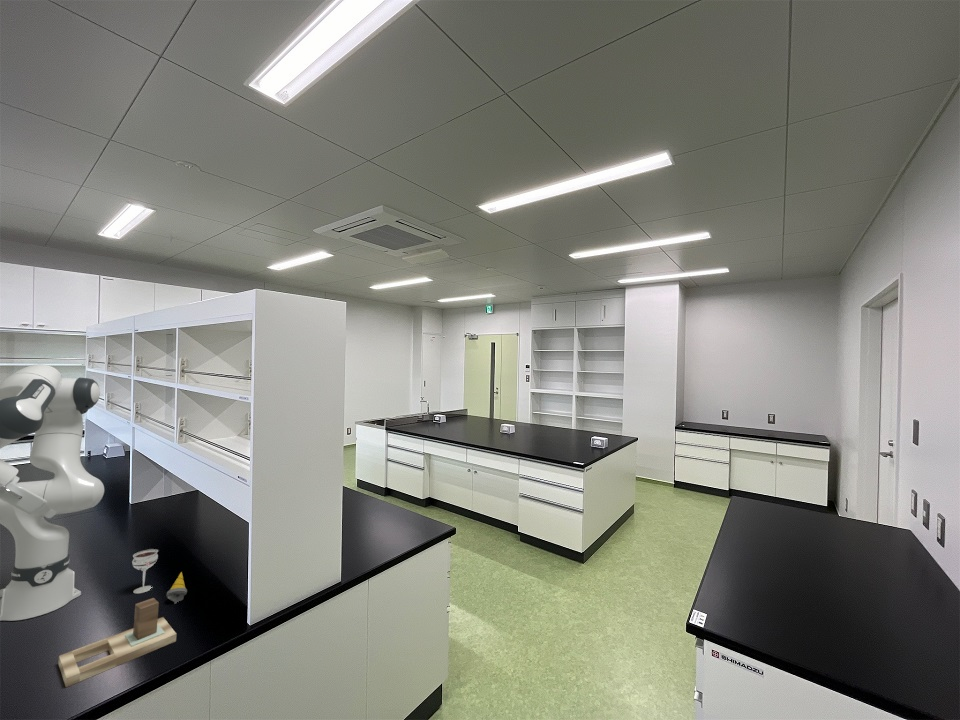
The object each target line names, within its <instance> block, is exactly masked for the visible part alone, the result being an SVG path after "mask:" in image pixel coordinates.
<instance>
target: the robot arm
mask: <svg viewBox="0 0 960 720" xmlns="http://www.w3.org/2000/svg"><path fill="white" fill-rule="evenodd" d="M100 396H101V391H100V386H99V384H98V382H97V381H95V380H94V379H92V378H88V377H75V378H74V377H63V376H62V374H61V372H60V371H59V370H58V369H57V368H55V367H54V366H51V365H48V364H41V363H40V364H39V363H38V364H33V365H29V366H26V367H23V368H21V369H19V370H17V371H15V372H13V373H12V374H9V376H7V377H6V378H5V379H3V380H2V381H1V382H0V449H3V448H4V447H6V446H8V445H10V444H12V443H14V442H16V441H18V440H19V439H21V438H24V437H26V436H30V435H31V434H33V433H34V437H33V440H32V441H33V442H32V446H31V451H30V455H29V462H30V464H31V465H32V466H34V467H35V468H37V469H40V470H43V471H46V472H47V471H48V472H50V473H53V474H54V477H53V478H51V479H46V480H45V479H44V480H43V479H42V480H33V481H21V482H19V481H20V477H19V476H17V475H18V474H19V469H18V468H16V467H15V466H13V465H12V464H9V463H8V462H6V460H5V461H4V460H3V459H1V458H0V525H1V526H4V527H5V528H6V529H7V530H8V531H9V532H10V534H11V535H12V537H13V539H14V544H15V560H14V564H13V566H12V570H11V572H10V573H11V574H10V575H11V577H10V579H11V580H10V581H9V583H8V584H7V585H6V586H5V588H1V589H0V622H1V621H7V622H10V621H22V620H27V619H32V618H36V617H39V616H42V615H45V614H49V613H51V612H53V611H56V610H58V609H60V608H62V607H64V606H66V605H67V604H68V603H70V602H71V601H72V600H74V599H76V598H78V597H80V596H81V595H82V591H81V590H78V589H77V588H76V587H75V571H73V569H71V568H69V566H70V559H71V558H70V554H68V553H69V545H70V544H69V540H70V532H69V530H68V529H67V528H66V527H64V526H62V525H60V524H59V525H58V524H53V523H50V522H49V521H47V520H46V519H52V518H53V517H54V516H56V515H64V514H69V513H76V512H81V511H84V510H88V509H90V508H91V509H92V508H93V507H94V508H95V506H97V505H98V504H99V503H100V502H101V500H102V499H103V496H104V494H105V486H104V483H103V482H102V480H101V479H99V478H97V477H95V476H93V475H92V474H90V473H89V472H88V471H87V470H86V469H85V467H84V466H83V464H82V462H81V449H82V440H83V434H84V433H83V432H84V423H83V422H84V419H83V414H86V413H87V412H88V410H90V409H92V408H93V407H94V406H95V405H96V404H97V403H98V402H99V398H100ZM44 517H45V518H46V519H45V518H44Z"/></svg>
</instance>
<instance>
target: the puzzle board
mask: <svg viewBox="0 0 960 720" xmlns="http://www.w3.org/2000/svg"><path fill="white" fill-rule="evenodd" d="M133 629H134V627H133V628H130V629H127V630H124V631H122V632H120V633H117V634H113V635H112V636H109V637H105V638H103V639H100V640H98V641H97V640H96V641H95V642H92V643H89V644H86V645H84V646H81V647H79V648H76V649H74V650H71V651H68V652H65V653H63V654H60V655H58V663H57V664H58V667H59V670H60V672H61V673H60V674H61V676H62V680H63V683H64V686H65V688H68V687H70V686H73V685H75V684H77V683H80V682H83V681H85V680H87V679H89V678H91V677H94V676H97V675H99V674H102V673H104V672H106V671H109V670H111V669H113V668H116V667H118V666H120V665H123V664H125V663H128V662H130V661H133V660H134V659H137V658H139V657H142V656H144V655H147V654H149V653H151V652H154V651H157V650H158V649H160V648H163V647H166V646H168V645H171V644H173V643H175V642H177V632H176V631H175V630H174V629H173V628H172V626H171V625H170V624H169V623H168V621H167V620H166V619H165V617H164V616H162V617H158V621H157V633H154V634H152V635H150V636H147V637H145V638H142V639H140V640H137V639H136V637H135V636H134V635H133ZM107 651H108V652H109V655H107V656H104V657H101V658H99V659H96V660H94V661H91V662H89V663H87V664H84V665H81V666H78V663H79V662H81V661H84V660H87V659H89V658H92V657H94V656H97V655H100V654H102V653H104V652H107Z"/></svg>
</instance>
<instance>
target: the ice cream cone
mask: <svg viewBox="0 0 960 720" xmlns="http://www.w3.org/2000/svg"><path fill="white" fill-rule="evenodd" d="M187 594H188V589H187V588H186V585H185V581H184V576H183V571H181V572H180V573H179V574H178V576H177V578H176V580H175V581H174V583H173V584H172V586H171V587H170V589H169V590H168V591H167V592H166V596H165V597H166V599H168V600H170V601H172V602H173V603H174V605H175V604H177V602H178V603H179V601H180V602H182V601H183V600H184V597H185V596H186V595H187Z"/></svg>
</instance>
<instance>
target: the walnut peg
mask: <svg viewBox="0 0 960 720" xmlns="http://www.w3.org/2000/svg"><path fill="white" fill-rule="evenodd" d="M159 605H160V603H159V601H158V600H156V598H155V597H152V598H149V599H146V600H143V601H140V602H137V603H135V605H134V618H133V619H134V620H133V628H134V629H133V635H134V636H135V637H136V639H137V640H140V639H142V638H145V637H147V636H150V635H152V634H154V633H157V621H158V619H159V607H160V606H159Z"/></svg>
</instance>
